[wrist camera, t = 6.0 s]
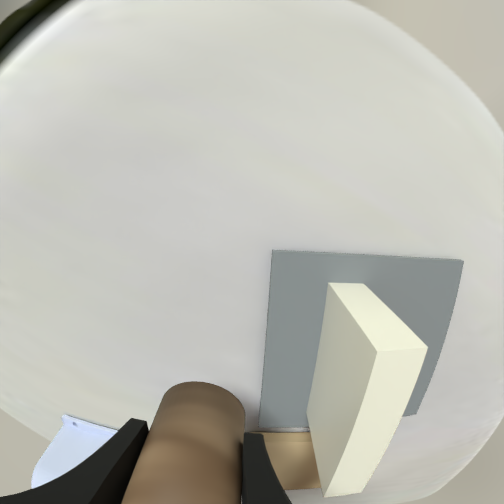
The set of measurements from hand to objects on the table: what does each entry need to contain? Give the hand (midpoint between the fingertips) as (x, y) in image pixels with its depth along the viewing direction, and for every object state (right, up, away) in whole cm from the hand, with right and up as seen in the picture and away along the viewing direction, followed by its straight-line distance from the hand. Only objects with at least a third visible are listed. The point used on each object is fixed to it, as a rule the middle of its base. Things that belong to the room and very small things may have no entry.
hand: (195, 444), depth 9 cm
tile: (+7, +1, +7) cm, 10 cm away
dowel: (0, 0, +2) cm, 2 cm away
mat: (+9, +1, +7) cm, 11 cm away
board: (+6, -9, +9) cm, 15 cm away
